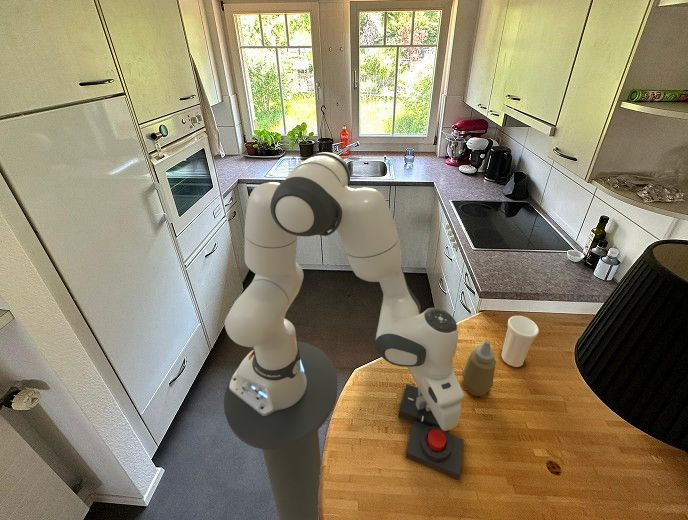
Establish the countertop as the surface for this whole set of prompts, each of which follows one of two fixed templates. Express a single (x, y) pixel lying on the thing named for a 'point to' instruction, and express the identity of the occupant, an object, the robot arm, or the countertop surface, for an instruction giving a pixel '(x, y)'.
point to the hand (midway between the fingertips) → (425, 402)
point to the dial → (420, 402)
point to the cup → (518, 340)
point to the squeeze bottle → (479, 370)
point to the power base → (439, 461)
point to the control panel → (415, 408)
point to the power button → (436, 440)
